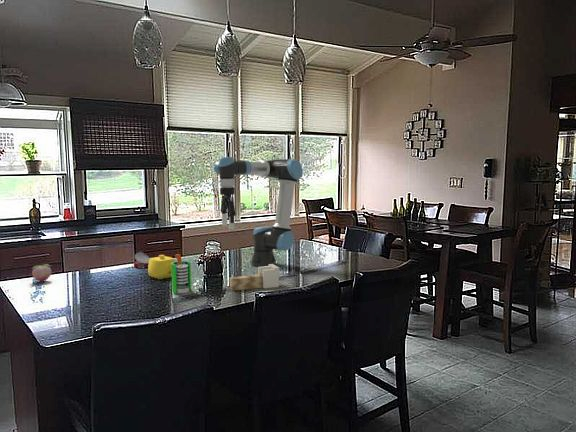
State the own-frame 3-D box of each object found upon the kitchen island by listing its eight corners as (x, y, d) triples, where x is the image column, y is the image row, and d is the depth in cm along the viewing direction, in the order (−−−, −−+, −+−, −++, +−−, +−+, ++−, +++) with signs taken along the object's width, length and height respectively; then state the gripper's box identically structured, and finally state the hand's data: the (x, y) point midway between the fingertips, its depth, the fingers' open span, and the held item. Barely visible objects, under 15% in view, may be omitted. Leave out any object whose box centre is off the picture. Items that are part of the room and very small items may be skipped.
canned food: (147, 272, 294) (154, 257, 295) (147, 274, 284) (155, 258, 286) (129, 265, 291) (137, 250, 292) (129, 266, 281) (137, 251, 283)
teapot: (183, 277, 261) (182, 256, 260) (162, 281, 253) (162, 259, 251) (163, 271, 275) (163, 251, 274) (144, 275, 267) (143, 254, 265)
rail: (231, 291, 234) (231, 279, 233) (229, 289, 237) (229, 277, 236) (270, 286, 241) (270, 275, 240) (267, 285, 244) (267, 273, 243)
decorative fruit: (48, 278, 260) (47, 260, 259) (54, 281, 254) (52, 262, 253) (29, 281, 254) (28, 263, 252) (34, 284, 248) (33, 265, 247)
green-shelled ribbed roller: (180, 294, 227) (178, 257, 225) (168, 292, 231) (166, 255, 229) (193, 290, 235) (192, 254, 233) (181, 287, 239) (180, 252, 237)
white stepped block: (258, 284, 246) (257, 265, 244) (273, 282, 249) (272, 263, 248) (264, 288, 237) (263, 269, 236) (279, 286, 240) (279, 267, 239)
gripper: (214, 186, 257) (215, 224, 260) (226, 188, 234) (227, 231, 237) (227, 185, 260) (228, 224, 263) (241, 187, 237) (242, 230, 240)
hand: (228, 227), depth 250 cm, fingers open, 13 cm apart
